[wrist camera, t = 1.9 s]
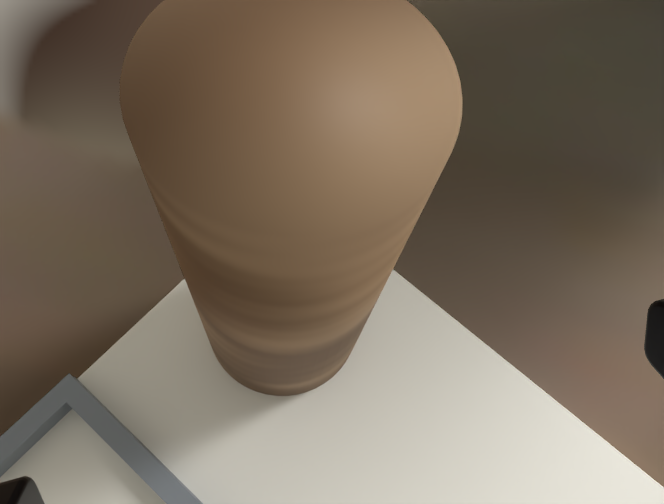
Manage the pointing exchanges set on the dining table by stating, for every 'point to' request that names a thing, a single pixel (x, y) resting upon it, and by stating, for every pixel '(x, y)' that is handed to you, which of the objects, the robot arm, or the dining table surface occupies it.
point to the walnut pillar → (288, 165)
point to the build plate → (314, 425)
